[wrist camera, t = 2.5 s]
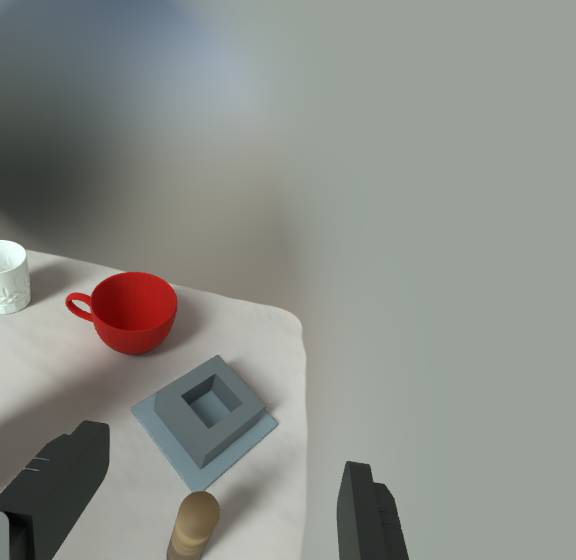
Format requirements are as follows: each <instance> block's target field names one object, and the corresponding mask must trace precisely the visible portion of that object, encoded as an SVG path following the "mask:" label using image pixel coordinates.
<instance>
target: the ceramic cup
mask: <svg viewBox="0 0 576 560" xmlns="http://www.w3.org/2000/svg"><path fill="white" fill-rule="evenodd" d="M72 300H80V301H83V302H85V303H86V304H88V305H89V306H90V310H91V313H88V312H86V311H83V310H81V309H80V308H78V307H77V306H76V305H75V304H74V303H73V302H72ZM66 306H67V308H68V309H69V310H70V311H71V312H72V313H74V314H75V315H77V316H79V317H81V318H83V319H85V320H88V321H91V322H93V323H94V326H95V329H96V331H97V333H98V335H99V336H100V338H101V339H102V341H103V342H104V343H105V344H106V345H108V346H109V347H110V348H112V349H114V350H116V351H118V352H121V353H125V354H140V353H144V352H147V351H149V350H151V349H153V348H155V347H156V346H158V345H159V344H160V343H161V342H162V341H163V340H164V339H165V337H166V336H167V334H168V333H169V331H170V329H171V327H172V324H173V322H174V319H175V315H176V311H177V297H176V294H175V292H174V290H173V289H172V287H171V286H170V285H169V284H168V283H167V282H166V281H164V280H162V279H161V278H159V277H157V276H154V275H151V274H147V273H141V272H127V273H120V274H117V275H113V276H111V277H109V278H107V279H105V280H104V281H102V282H101V283H100V284H99V285H98V286H96V288H95V289H94V291H93V292H92V295H91V297H90V296H88V295H85V294H82V293H71V294H70V295H68V297H67V298H66Z"/></svg>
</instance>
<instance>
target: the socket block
mask: <svg viewBox="0 0 576 560" xmlns="http://www.w3.org/2000/svg"><path fill="white" fill-rule="evenodd" d="M265 407H266V405H265V404H264V403H263V402H262V401H261V400H260V399H259V398H258V397H257V396H256V395H255V394H254V393H253V391H252V390H251V389H250V388H249V387H248V386H247V385H246V384H245V383H244V382H243V381H242V380H241V379H240V378H239V376H238V375H237V374H236V373H235V372H234V371H233V370H232V369H231V368H230V367H229V366H228V365H227V364H226V363H225V362H224V360H223V359H222V358H221V357H220V356H219V355H216V356H215V357H213V358H212V359H210V360H208V361H207V362H205V363H203V364H202V365H200V366H198V367H197V368H195V369H194V370H192V371H190V372H189V373H187V374H185V375H184V376H182V377H181V378H179V379H177V380H176V381H174V382H172V383H171V384H169V385H167V386H166V387H164V388H163V389H161V390H159V391H158V392H156V393H155V394H153V395H152V396H150V397H149V398H147V399H145V400H144V401H142V402H140V403H139V404H137V405H136V406H134V407H132V412H133V414H134V415H135V416H136V418H137V419H138V420H139V422H140V423H141V424H142V426H143V427H144V428H145V430H146V431H147V432H148V434H149V435H150V436H151V438H152V439H153V440H154V442H155V443H156V444H157V446H158V447H159V448H160V449H161V451H162V452H163V453H164V455H165V456H166V457H167V459H168V460H169V461H170V463H171V464H172V465H173V467H174V468H175V469H176V471H177V472H178V473H179V475H180V476H181V477H182V479H183V480H184V481H185V483H186V484H187V485H188V487H189V488H190V489H191V491H192V492H193V493H194V492H197V491H204V490H205V489H206V488H208V487H209V486H210V485H211V484H212V483H213V482H214V481H215V480H217V479H218V478H219V477H220V476H221V475H222V474H223V473H225V472H226V471H227V470H228V469H229V468H230V467H231V466H232V465H234V464H235V463H236V462H237V461H238V460H239V459H240V458H241V457H243V456H244V455H245V454H246V453H247V452H248V451H249V450H251V449H252V448H253V447H254V446H255V445H256V444H257V443H258V442H260V441H261V440H262V439H263V438H264V437H265V436H266V435H267V434H269V433H270V432H271V431H272V430H273V429H274V428H275V427H276V426H277V422H276V421H275V420H274V419H273V418H272V417H271V416H270V415H269V414H268V413H267V412H266V411H265V410H264V409H265Z"/></svg>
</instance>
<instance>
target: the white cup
mask: <svg viewBox="0 0 576 560" xmlns="http://www.w3.org/2000/svg"><path fill="white" fill-rule="evenodd" d="M30 300H31V291H30V277H29V269H28V262H27V255H26V251H25V249H24V248H23V247H22V246H20V245H19V244H17V243H15V242H11V241H6V240H0V314H9V313H14V312H17V311H19V310H21V309H23V308H25V307H26V306H27V305H28V303H29V302H30Z"/></svg>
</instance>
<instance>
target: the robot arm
mask: <svg viewBox="0 0 576 560" xmlns="http://www.w3.org/2000/svg"><path fill="white" fill-rule="evenodd" d="M109 447H110V429H109V425H108V424H105V423H99V422H93V421H83V422H82V423H81V424H80V425H79V426H78V427H77V428H76V430H75V431H74V432H73V433H72V434H71V435H67V434H63V435H61V436H59V437H58V438H56V439H54V440H53V441H51V442H49V443H48V444H46V446H45V447H44V448H43V449H42V450H41V451H40V452H39V453H38V454H37V455H36V456H35V459H32V461H31V462H30V463H29V464H28V465H27V466H26V467H25V470H22V471H21V472H20V473H19V474H18V476H17V477H16V478H15V479H14V480H13V481H12V482H11V483H10V484H9V485H8V486H7V487H6V488H5V489H4V491H3V492H2V493H1V494H0V560H52V558H53V557H54V555H55V554H56V552H57V551H58V549H59V548H60V546H61V545H62V543H63V542H64V540H65V539H66V537H67V535H68V534H69V532H70V531H71V529H72V528H73V526H74V525H75V523H76V522H77V520H78V519H79V517H80V515H81V514H82V512H83V511H84V509H85V508H86V506H87V505H88V503H89V502H90V500H91V499H92V497H93V496H94V494H95V492H96V491H97V489H98V488H99V486H100V485H101V483H102V482H103V480H104V478H105V476H106V473H107V470H108V466H109ZM337 528H338V542H339V557H340V560H409V557H408V554H407V549H406V545H405V541H404V537H403V533H402V530H401V524H400V520H399V517H398V512H397V508H396V504H395V500H394V497H393V496H392V494H391V493H390V491H389V490H388V488H387V487H386V486H385V484H381V483H375V482H373V478H372V473H371V468H370V465H369V464H364V463H358V462H351V461H347V462H346V464H345V469H344V473H343V477H342V482H341V486H340V491H339V495H338V501H337Z"/></svg>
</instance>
